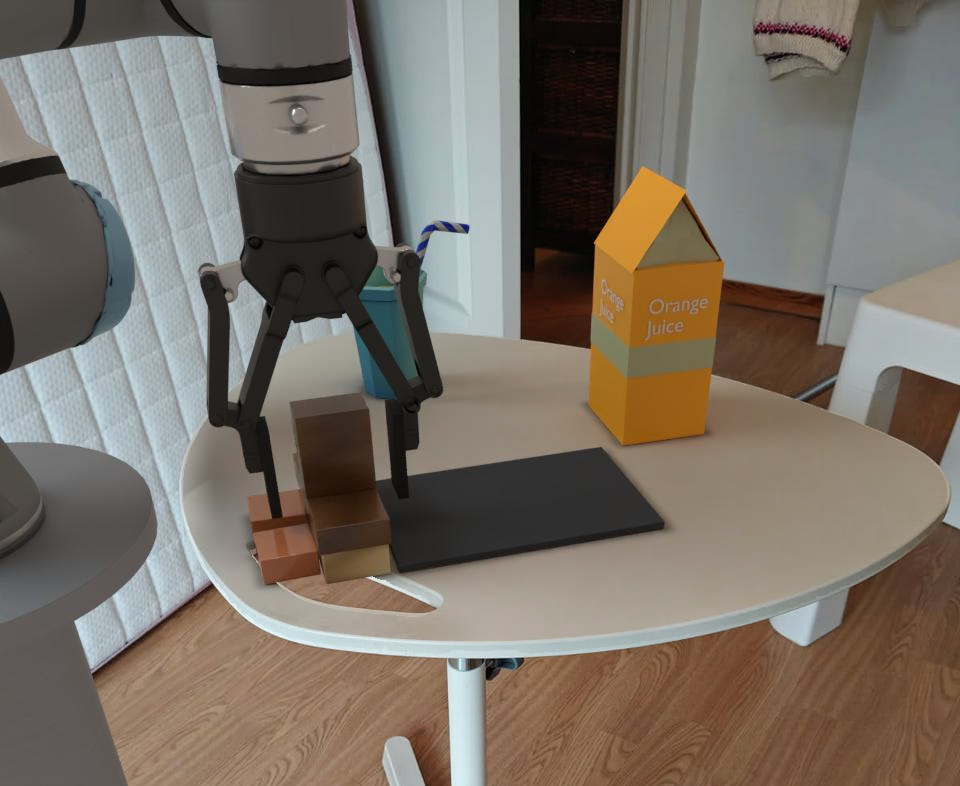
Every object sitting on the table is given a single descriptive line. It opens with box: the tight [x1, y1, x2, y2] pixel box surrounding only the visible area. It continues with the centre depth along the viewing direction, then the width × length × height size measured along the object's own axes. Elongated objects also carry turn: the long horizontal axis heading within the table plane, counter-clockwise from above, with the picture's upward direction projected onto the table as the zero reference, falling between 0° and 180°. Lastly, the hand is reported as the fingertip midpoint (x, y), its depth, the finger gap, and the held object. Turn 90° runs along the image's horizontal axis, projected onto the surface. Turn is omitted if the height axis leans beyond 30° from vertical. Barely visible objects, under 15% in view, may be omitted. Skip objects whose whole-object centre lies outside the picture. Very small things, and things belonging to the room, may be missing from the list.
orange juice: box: [588, 165, 725, 446], centre depth 84 cm, size 8×9×20 cm
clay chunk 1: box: [247, 488, 308, 545], centre depth 76 cm, size 4×4×2 cm
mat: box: [376, 446, 666, 574], centre depth 78 cm, size 20×13×1 cm, turn 105°
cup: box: [352, 219, 471, 400], centre depth 93 cm, size 14×8×15 cm, turn 101°
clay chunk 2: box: [252, 523, 322, 585], centre depth 71 cm, size 4×4×2 cm
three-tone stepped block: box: [288, 391, 392, 585], centre depth 72 cm, size 5×12×10 cm, turn 16°
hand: (338, 499), depth 73 cm, fingers open, 8 cm apart
